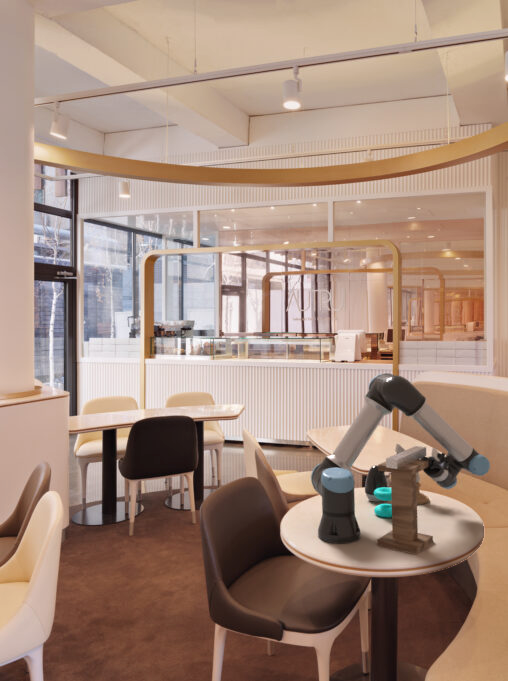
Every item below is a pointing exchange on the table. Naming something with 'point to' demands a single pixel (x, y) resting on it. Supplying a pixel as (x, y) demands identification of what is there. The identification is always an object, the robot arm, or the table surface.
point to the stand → (404, 510)
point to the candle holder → (420, 496)
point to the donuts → (385, 495)
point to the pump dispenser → (375, 483)
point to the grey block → (405, 457)
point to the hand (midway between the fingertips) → (414, 449)
